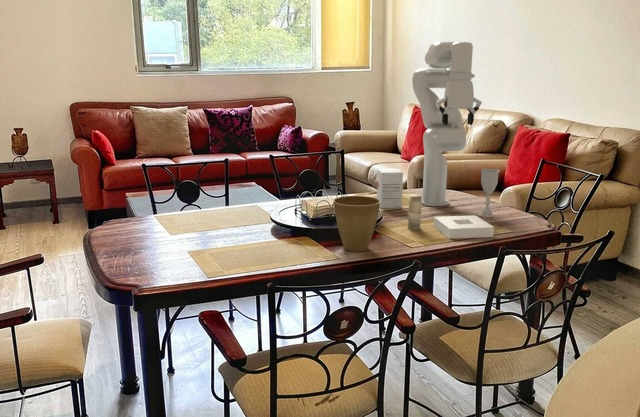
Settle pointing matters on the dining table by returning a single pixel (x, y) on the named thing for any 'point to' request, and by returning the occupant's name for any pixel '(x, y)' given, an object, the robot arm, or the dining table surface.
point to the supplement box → (389, 188)
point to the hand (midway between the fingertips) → (457, 124)
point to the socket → (463, 227)
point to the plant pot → (356, 220)
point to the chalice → (488, 187)
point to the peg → (414, 212)
